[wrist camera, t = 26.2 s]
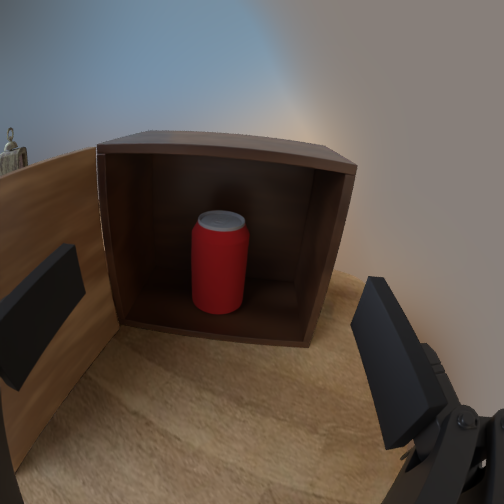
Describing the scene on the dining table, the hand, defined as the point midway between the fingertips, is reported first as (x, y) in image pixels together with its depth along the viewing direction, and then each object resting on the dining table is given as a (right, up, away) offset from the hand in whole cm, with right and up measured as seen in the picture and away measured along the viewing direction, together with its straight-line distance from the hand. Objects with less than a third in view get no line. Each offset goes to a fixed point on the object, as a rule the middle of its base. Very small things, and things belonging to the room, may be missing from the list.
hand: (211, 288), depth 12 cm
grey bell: (-73, +16, +54) cm, 92 cm away
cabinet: (-3, -6, +27) cm, 28 cm away
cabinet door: (-20, -13, +10) cm, 26 cm away
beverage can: (-3, -5, +26) cm, 27 cm away
